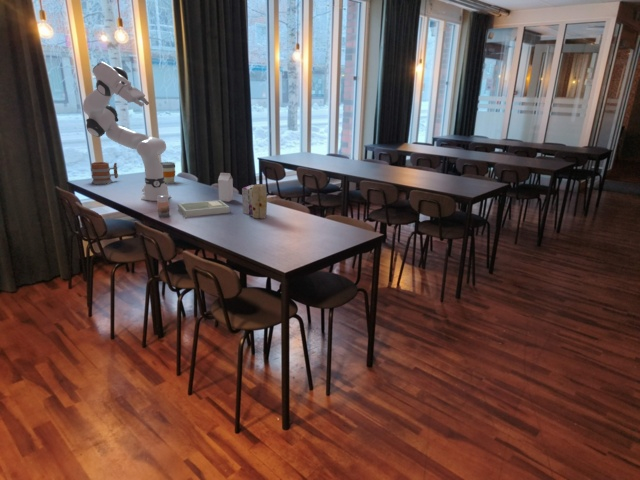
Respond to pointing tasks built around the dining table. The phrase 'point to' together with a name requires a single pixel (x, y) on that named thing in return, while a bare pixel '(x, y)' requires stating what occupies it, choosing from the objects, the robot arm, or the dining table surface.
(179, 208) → the pale green tray
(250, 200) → the candy bar box
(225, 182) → the milk carton
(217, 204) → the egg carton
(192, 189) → the dining table surface
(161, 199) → the glass jar
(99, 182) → the mug
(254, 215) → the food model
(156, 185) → the robot arm
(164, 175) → the reusable coffee cup
